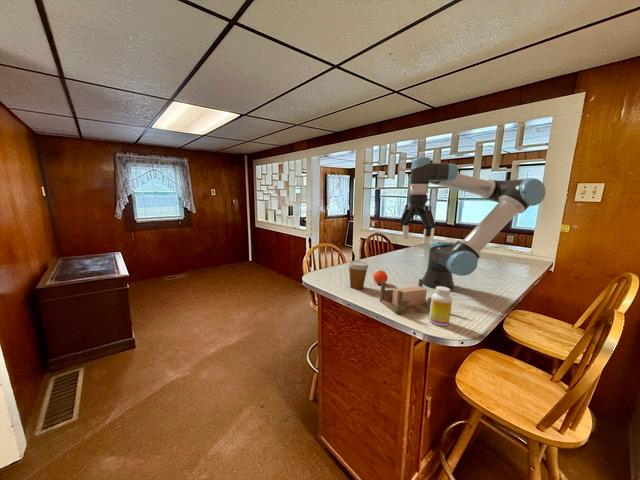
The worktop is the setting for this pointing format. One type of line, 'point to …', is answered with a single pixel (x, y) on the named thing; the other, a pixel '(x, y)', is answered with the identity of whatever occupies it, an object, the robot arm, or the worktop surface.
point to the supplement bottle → (440, 306)
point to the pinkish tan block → (411, 295)
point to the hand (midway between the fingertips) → (414, 241)
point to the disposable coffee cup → (357, 274)
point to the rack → (402, 302)
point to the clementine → (380, 276)
